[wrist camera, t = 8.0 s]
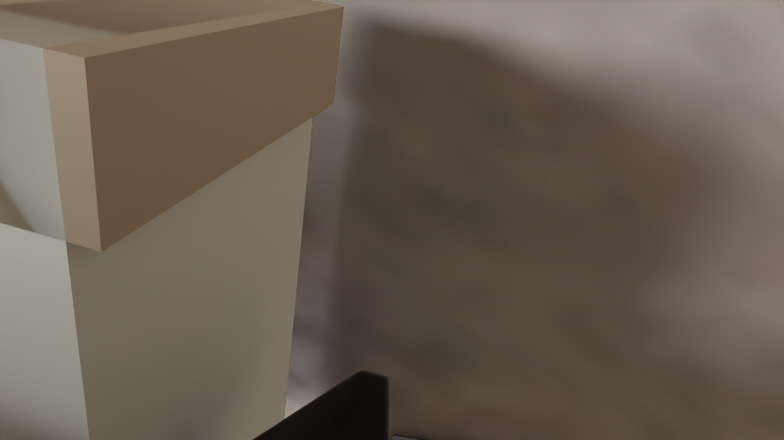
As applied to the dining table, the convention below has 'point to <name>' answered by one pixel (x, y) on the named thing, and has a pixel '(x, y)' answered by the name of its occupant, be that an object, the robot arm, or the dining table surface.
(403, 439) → the doorway mat
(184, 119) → the gate
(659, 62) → the dining table surface
